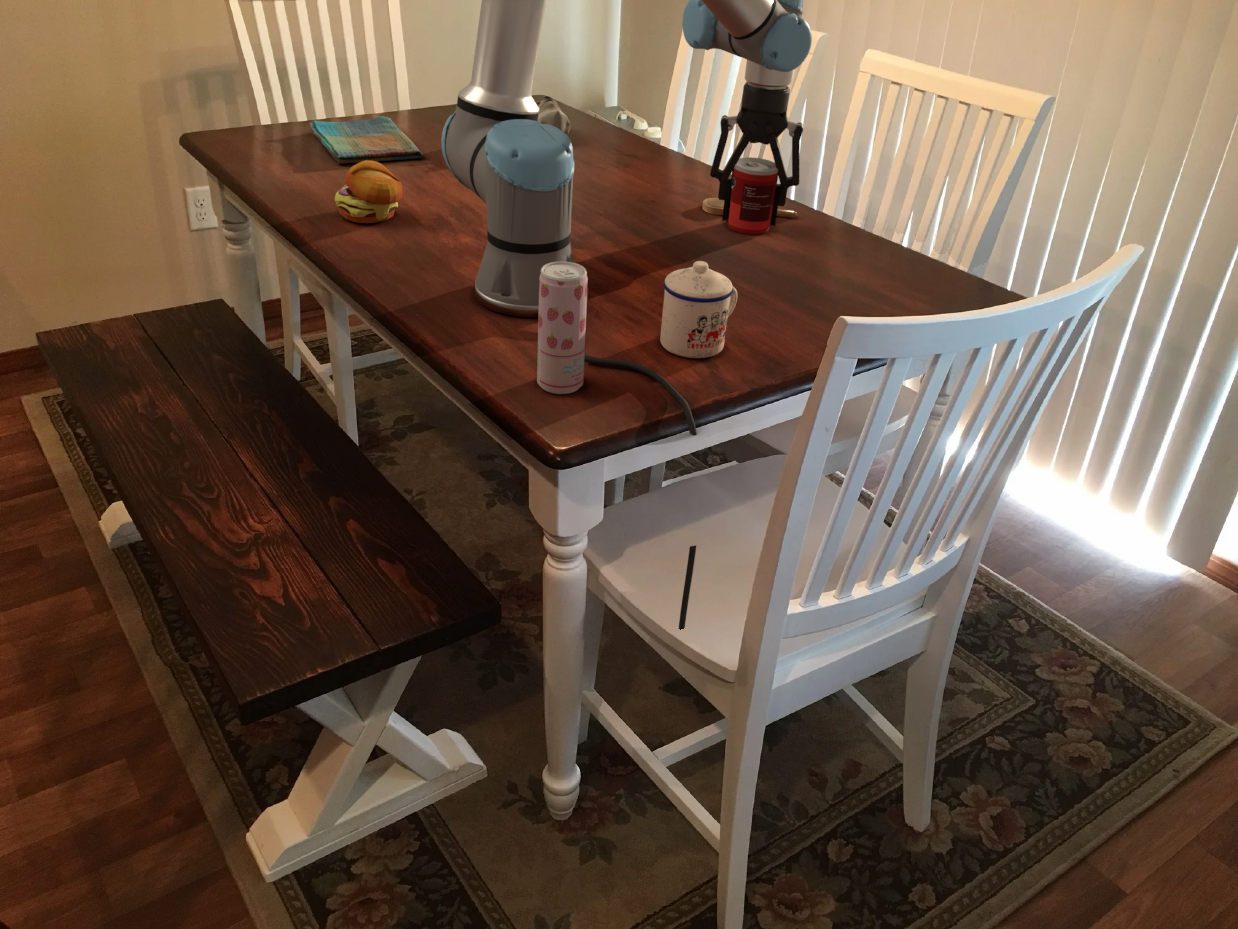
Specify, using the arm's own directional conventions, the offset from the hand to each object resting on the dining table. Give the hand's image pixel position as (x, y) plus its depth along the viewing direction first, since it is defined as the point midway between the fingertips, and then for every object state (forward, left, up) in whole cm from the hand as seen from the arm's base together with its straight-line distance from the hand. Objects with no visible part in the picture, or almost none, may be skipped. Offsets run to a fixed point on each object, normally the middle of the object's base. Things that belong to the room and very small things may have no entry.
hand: (748, 220), depth 173 cm
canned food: (0, 0, -1) cm, 1 cm away
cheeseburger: (+18, +62, -1) cm, 65 cm away
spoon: (+6, -4, -1) cm, 7 cm away
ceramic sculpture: (+58, +18, -1) cm, 61 cm away
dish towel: (+58, +56, -1) cm, 81 cm away
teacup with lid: (-39, +28, -1) cm, 48 cm away
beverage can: (-45, +50, -1) cm, 67 cm away
